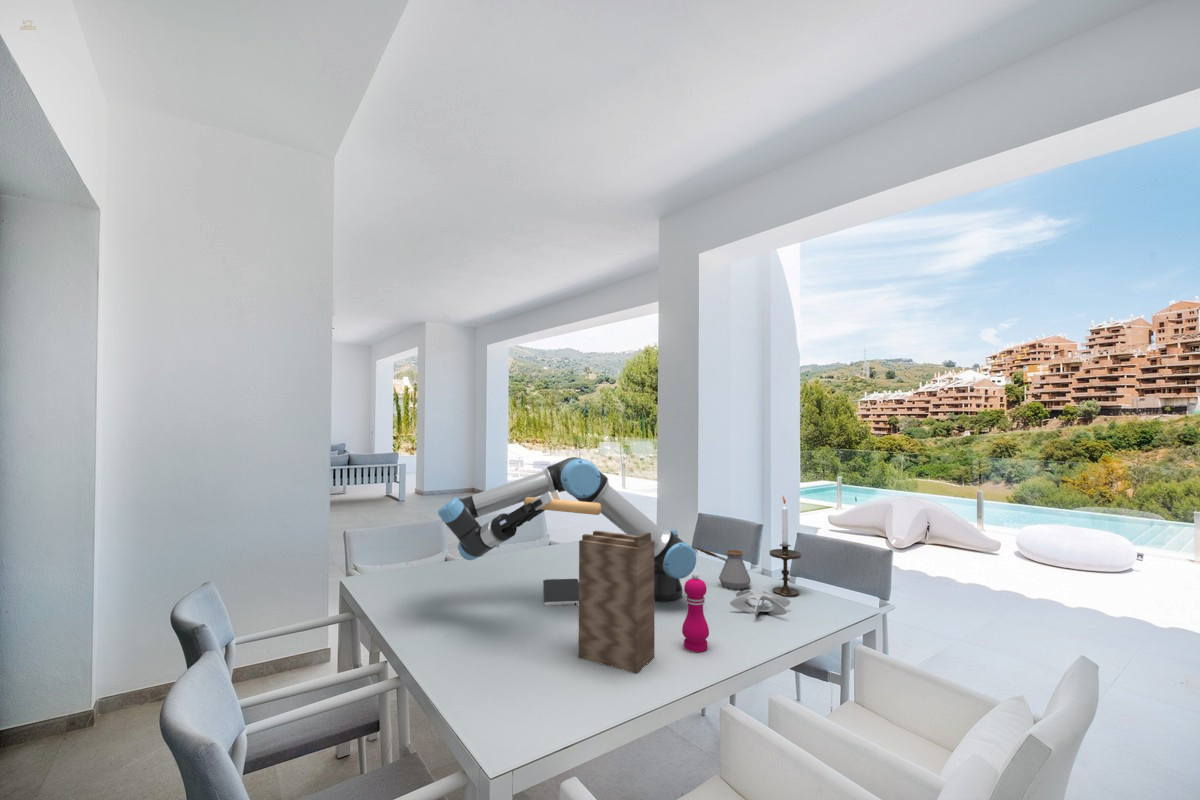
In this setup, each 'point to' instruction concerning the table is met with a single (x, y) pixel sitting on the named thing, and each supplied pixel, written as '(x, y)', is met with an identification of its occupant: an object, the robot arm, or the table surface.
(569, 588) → the smartphone
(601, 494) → the robot arm
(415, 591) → the table surface
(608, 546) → the stand
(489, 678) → the table surface
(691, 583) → the pepper mill
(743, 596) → the sculpture
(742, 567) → the coffee pot
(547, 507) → the pin
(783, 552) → the candlestick
